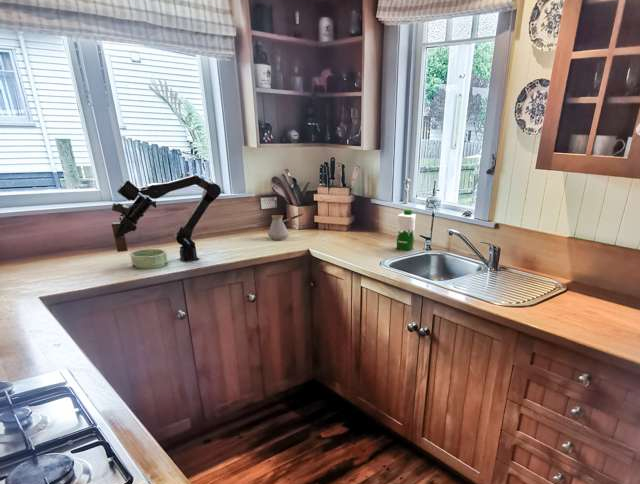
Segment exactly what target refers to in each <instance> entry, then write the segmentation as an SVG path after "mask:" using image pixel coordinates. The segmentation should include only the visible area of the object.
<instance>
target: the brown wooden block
mask: <svg viewBox="0 0 640 484" xmlns="http://www.w3.org/2000/svg"><path fill="white" fill-rule="evenodd" d="M119 227H120V221H113V222H111V228H112V233H113V234H112V235H113V239H114V242H115V247H116V251H117V253H120V252H121V253H122V252H123V253H124V252H128V244H127V240H126V236H125V235H126V234H124V235H122V236H120V237H115V234H116V233H117V231H118V229H119Z"/></svg>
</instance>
